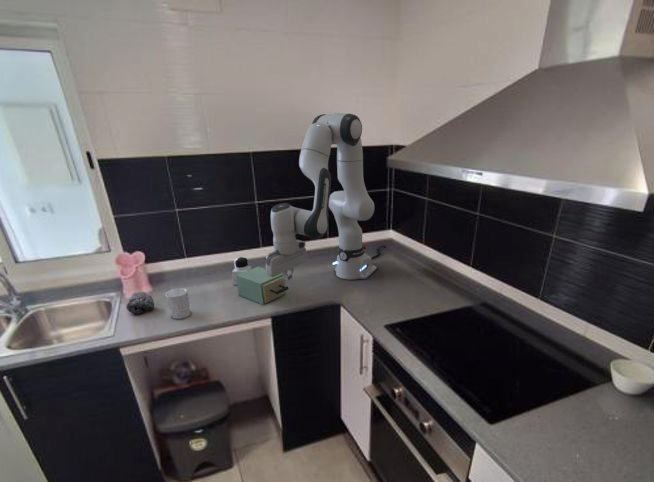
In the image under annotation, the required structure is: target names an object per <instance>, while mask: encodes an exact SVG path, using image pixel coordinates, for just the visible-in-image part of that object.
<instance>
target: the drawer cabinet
mask: <svg viewBox="0 0 654 482" xmlns="http://www.w3.org/2000/svg"><path fill="white" fill-rule="evenodd" d="M236 277H237V283H238V285H237V290H238V295H239V296H240V297H243V298H245V299H248V300H250V301H253V302H255V303H258V304H261V305H266V304H268V303H269V302H272V301H274V300H276V299H278V298H280V297H282V296H284V295H285V294H283V295H281V296H279V297H277V298H275V299H273V300H271V301H269V302H267V303H265V302H264V296H263V288H262V285H263V284H266V283H268V282H270V281H272V280H275V279H277V278H280V277H284V275H283V274H282V273H281V274H279V275H277V276H275V277H271V276H268V275H267V274H266V267H261V266H256V267H253V268H252V269H251V270H248V271H246V272H243V273H240V274H238V275H236Z"/></svg>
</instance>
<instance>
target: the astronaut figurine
mask: <svg viewBox="0 0 654 482" xmlns="http://www.w3.org/2000/svg"><path fill="white" fill-rule="evenodd" d="M233 264H234V268H233V270H232V271H231V274H232V281H233V286H238V283H237V277H236V275H238V274H240V273H243V272H246V271H248V270H251V269H253V268H252V266H251V265H249V263H248V258H246V257H243V256H239V257H236V258H234V259H233Z"/></svg>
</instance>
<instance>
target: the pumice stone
mask: <svg viewBox="0 0 654 482" xmlns="http://www.w3.org/2000/svg"><path fill="white" fill-rule="evenodd" d="M155 305H156V304H155V301H154V298H153V297H152V296H151V295H150V294H149V293H146V292H145V291H136V292H133V293H132V294H131V296H130V298H129V300H128V302H127V303H126V306H125V307H126V310H127V311H128V312H129V313H131V314H133V315H142V314H144V313H146V312H149V311H152V310H154V309H155Z"/></svg>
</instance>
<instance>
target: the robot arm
mask: <svg viewBox="0 0 654 482" xmlns="http://www.w3.org/2000/svg"><path fill="white" fill-rule="evenodd" d="M362 133H363V125H362V121H361V119H360V118H359V116H358V115H356V114H353V113H342V112H334V113H326V114H325V113H323V114H319V115H317V116H316V117H314V119H313V120H312V123H311V124H310V125H309V127H308V128H307V130H306V133H305V136H304V140H303V142H302V145H301V148H300V153H299V159H298V166H299V168H300V170H301V172H302V174H303V175H304V176H305V177H307V178H308V180H310V181H311V182H312V183H313V185H314V198H313V207H312V210H307V209H304V208H299V207H295V206H292V205H291V204H290V203H287V202H282V203H278V204H275V205H274V206H273V207H272V208H271V210H270V227H271V231H272V234H273V237H272V244H273V251H272V252H269V253H267V255H266V257H265V269H266V274H267V275H268V276H271V277H275V276H277V275H279V274H283V277H284V281H289V280H291V279H293V278H294V277H293V274H294V272H295V271H294V270H295V268H296V267H298V266H301V265H302V264H304V263H306V262H307V260H308V252H307V248H306V241H304V240H300V239H297V237H296V235H301V236H305V237H307V238H310V239H312V240H319V239H321V238H322V237H323V236H325V234H326V233H327V232H328V229H329V210H330V211H331V212H332V214H333V216H334V220H335V223H336V226H337V232H338V247H337V254H338V255H337V256H336V261H334V262H332V265H336V267H335V268H334V272H335V275H336V277H338V278H340V279H342V280H350V281H351V280H352V281H353V280H366V279H368V278H369V277H370V276H371V275H372V274H373V273H374V272H375V271H376V270H377V269H378V268H377V266H376V265H375V264H373V259H375V258H377V257H379V256H380V255H381V252H380V251H379V250H380V249H381V248H384V249H386V245H380V246H379V247H378V248H379V249H378V248H377V249H376V252H377V254H376V255H374V256H372V257H371V256H370V255H368V254H367V253H366V252H365V250H367V249H368V245H366V244H363V229H362V227H361V226H360V225H359V223H358V221H361V222H362V221H369V220H370V219H371V218H372V217H373V215H374V213H375V208H376V207H375V203H374V200H373V199H372V198H371V197H370V195H369V193H368V191H367V188H366V184H365V181H364V180H365V179H364V153H363V151H364V150H363V144H362V138H361V137H362ZM332 145H336V148H337V149H336V168H337V169H336V170H337V171H336V173H337V180H338V182H339V184H341V186H342V188H343V190H338V191H337V190H336V191H333V192H332V193H331V189H332V188H331V187H332V175H331V172H330V171H329V161H330V156H331V151H332V150H331V149H332ZM383 246H384V247H383ZM380 247H381V248H380Z"/></svg>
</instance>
